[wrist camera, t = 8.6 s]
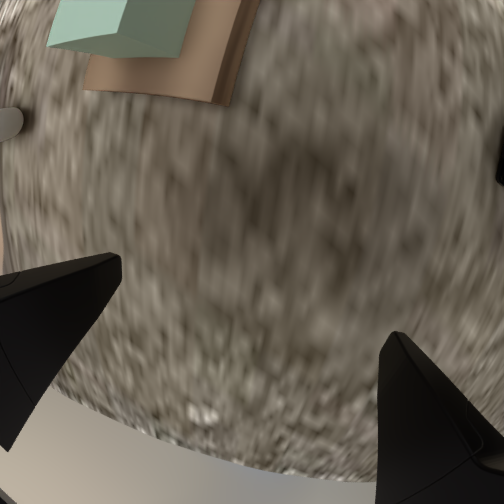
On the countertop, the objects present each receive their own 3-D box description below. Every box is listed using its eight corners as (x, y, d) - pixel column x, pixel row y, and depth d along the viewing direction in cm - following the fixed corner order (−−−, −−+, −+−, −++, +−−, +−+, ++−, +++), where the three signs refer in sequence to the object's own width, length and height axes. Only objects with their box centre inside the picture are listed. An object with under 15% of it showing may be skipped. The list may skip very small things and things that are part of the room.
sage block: (199, -11, 11) (151, -56, 6) (178, 57, 13) (116, 33, 8) (132, -5, 11) (74, -32, 6) (113, 58, 14) (46, 46, 8)
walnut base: (266, -13, 13) (255, -39, 10) (230, 107, 18) (211, 102, 14) (147, -13, 14) (120, -29, 10) (115, 91, 18) (82, 89, 15)
